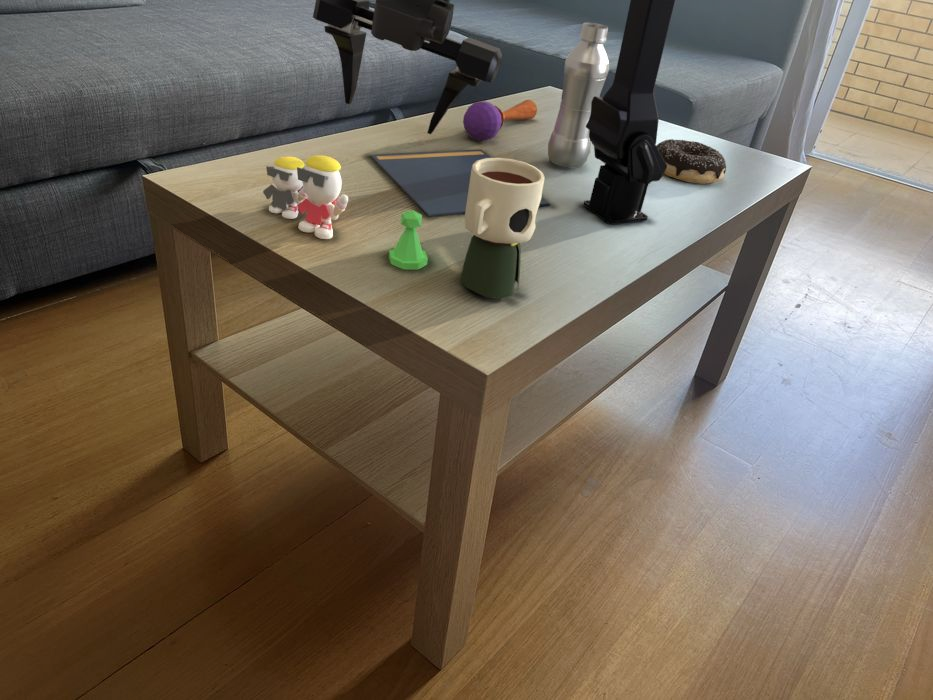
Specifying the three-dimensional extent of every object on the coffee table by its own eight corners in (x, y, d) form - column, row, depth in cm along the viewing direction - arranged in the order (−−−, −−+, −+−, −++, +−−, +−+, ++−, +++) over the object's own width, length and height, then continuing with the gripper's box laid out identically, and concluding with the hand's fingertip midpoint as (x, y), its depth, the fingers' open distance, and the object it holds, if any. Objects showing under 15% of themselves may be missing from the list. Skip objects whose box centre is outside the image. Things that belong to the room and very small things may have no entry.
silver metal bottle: (539, 165, 109) (566, 24, 98) (551, 153, 115) (579, 17, 103) (580, 176, 108) (612, 34, 96) (590, 163, 113) (623, 27, 102)
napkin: (480, 151, 111) (481, 149, 111) (549, 205, 97) (550, 202, 97) (370, 156, 103) (370, 154, 103) (428, 216, 89) (428, 213, 89)
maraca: (549, 101, 125) (495, 114, 109) (536, 133, 128) (482, 150, 112) (520, 85, 126) (463, 96, 110) (508, 117, 130) (451, 132, 114)
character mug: (492, 321, 71) (515, 198, 64) (432, 295, 74) (447, 174, 66) (540, 280, 79) (565, 167, 72) (484, 258, 82) (503, 147, 75)
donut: (681, 156, 122) (688, 132, 120) (736, 183, 114) (745, 158, 112) (635, 162, 116) (642, 138, 114) (691, 191, 109) (699, 165, 106)
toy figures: (258, 207, 85) (256, 137, 80) (288, 198, 88) (288, 131, 83) (326, 246, 79) (327, 173, 75) (355, 235, 82) (359, 165, 78)
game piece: (422, 273, 77) (428, 221, 74) (383, 265, 78) (387, 214, 74) (431, 255, 81) (436, 206, 77) (394, 248, 81) (397, 198, 78)
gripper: (310, -80, 62) (278, 99, 70) (514, -5, 63) (460, 165, 70) (348, -72, 72) (315, 84, 80) (523, -7, 73) (475, 142, 80)
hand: (389, 118), depth 77 cm, fingers open, 9 cm apart
